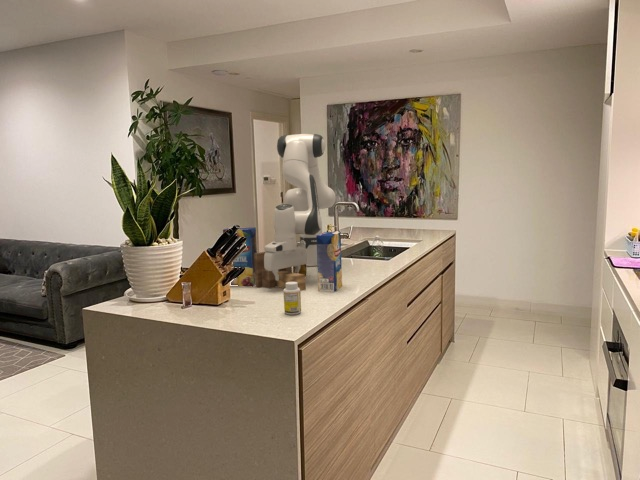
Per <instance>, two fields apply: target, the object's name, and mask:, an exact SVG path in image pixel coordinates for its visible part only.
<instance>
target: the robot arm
mask: <svg viewBox="0 0 640 480" xmlns="http://www.w3.org/2000/svg"><path fill="white" fill-rule="evenodd" d="M325 149H326V142H325V140H324V137H323V136H322V135H321V134H317V133H314V134H313V133H312V134H310V133H300V134H289V135H288V134H285V135H281V136H280V137H279V138H278V139H277V142H276V150H277V154H278V155H279V156H280V158H282V167H281V172H282V177H283V179H284V180H285V181H286V182H287V183H288V184H290V185H291V186H294V187H296V188H290V189H288V190H287V191H285V195H284V204H279V205H276V206H275V207H274V212H273V229H274V240H273V241H271V242H270V243H268V244H266V245H264V247H263V248H264V252H266V251H267V252H266V253H265V254H264V268H265V269H266V270H268V271H272V272H273V274H274V275H275V280H277V281H278V280H281V276H279V275H278V273H277V272H278V269H283V268H288V267H292V268H293V266H295V268H296V269H295V272H293V271H292V272H293V273H298V274H299V270H300V268H301V266H300V265H304V264H306V267H318V264H317V236H316V235H319V234H321V233H323V222H322V217H321V213H320V212H321V211H320V210H323V209H324V210H325V209H329V208H332V207H333V206H334V205H335V203H336V193H335V190H333V188H331V187H329V186H328V185H327V184H326V183H325V182H324V181H323V180H322V178H321V176H320V175H321V174H320V171H319V161H318V158H320V157H322V156H323V155H324V152H325ZM297 235H300V237H299V242H297Z"/></svg>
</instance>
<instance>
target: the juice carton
mask: <svg viewBox="0 0 640 480" xmlns="http://www.w3.org/2000/svg"><path fill="white" fill-rule="evenodd" d="M231 228H232V227H227V228H225V229H222V235H223V234H224V233H225V232H226V231H227V230H229V229H231ZM238 228H239V229H238V231H237V235H238V236H240V237H246V238H247V240H246V242H245V244H246V246H247V248H246V249H245V250H244V251H243V252H242V253H241V254H240V255H239V256H238V257H237V258H236V259H235V260H234V261H233V266H234V267H245V270H244V272H243V273H242V274H241V275H239V276H238V277H237V278H236V279H234V280H233V281H232V282H231V285H238V286H252V287H253V288H254V287H256V285H255V266H254V253H258V251H257V250H258V248H257V228H256V227H255V226H254V227H250V226H249V227H238Z"/></svg>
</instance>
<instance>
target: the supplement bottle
mask: <svg viewBox="0 0 640 480" xmlns="http://www.w3.org/2000/svg"><path fill="white" fill-rule="evenodd" d="M301 298H302V297H301V291H300V288H298V283H297V282H287V283H286V288H283V304H284V306H283V307H284V314H286V315H290V316H295V315H298V314H301V312H302V299H301Z"/></svg>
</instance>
